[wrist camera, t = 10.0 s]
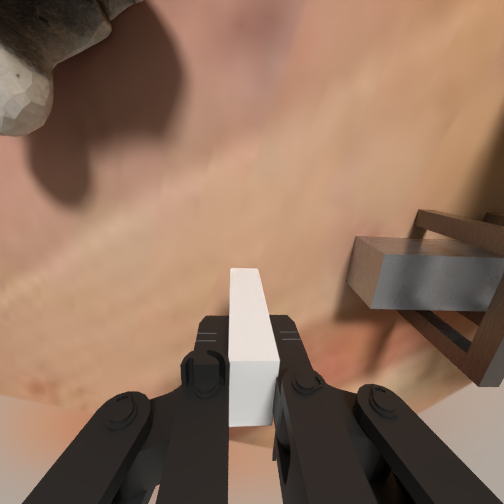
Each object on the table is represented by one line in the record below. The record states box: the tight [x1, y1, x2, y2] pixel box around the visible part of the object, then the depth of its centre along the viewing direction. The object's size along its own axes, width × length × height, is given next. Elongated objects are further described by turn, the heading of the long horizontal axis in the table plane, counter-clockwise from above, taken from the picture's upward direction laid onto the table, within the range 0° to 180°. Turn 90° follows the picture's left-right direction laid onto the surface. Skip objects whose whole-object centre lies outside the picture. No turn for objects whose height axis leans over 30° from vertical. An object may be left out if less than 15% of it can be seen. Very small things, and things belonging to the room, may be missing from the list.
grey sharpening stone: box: [346, 236, 504, 312], centre depth 18 cm, size 18×4×4 cm, turn 87°
